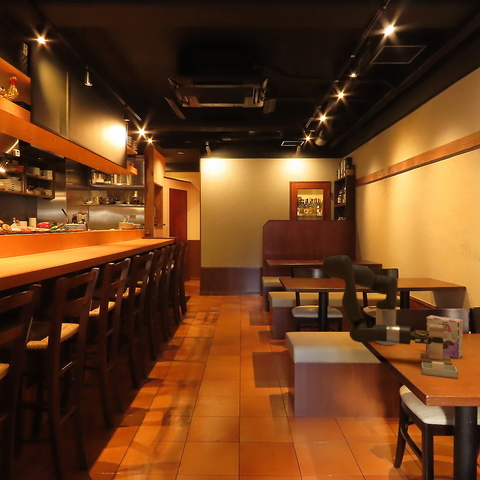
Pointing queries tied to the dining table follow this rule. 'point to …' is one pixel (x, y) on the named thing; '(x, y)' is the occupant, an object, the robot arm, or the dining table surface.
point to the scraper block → (435, 348)
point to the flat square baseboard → (426, 359)
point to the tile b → (438, 365)
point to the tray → (440, 371)
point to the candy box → (449, 335)
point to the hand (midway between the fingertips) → (442, 338)
